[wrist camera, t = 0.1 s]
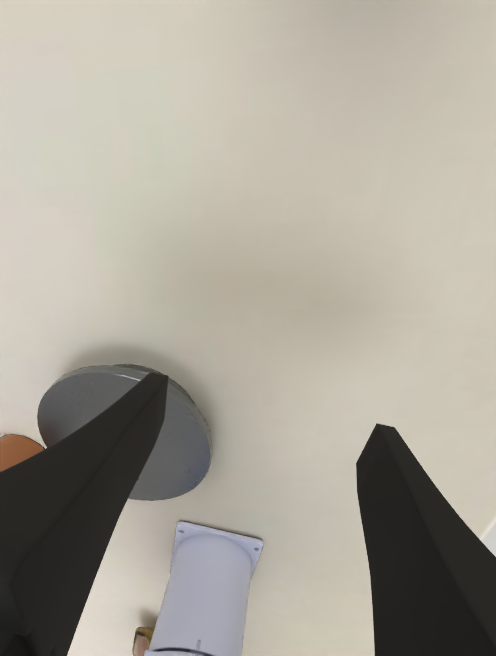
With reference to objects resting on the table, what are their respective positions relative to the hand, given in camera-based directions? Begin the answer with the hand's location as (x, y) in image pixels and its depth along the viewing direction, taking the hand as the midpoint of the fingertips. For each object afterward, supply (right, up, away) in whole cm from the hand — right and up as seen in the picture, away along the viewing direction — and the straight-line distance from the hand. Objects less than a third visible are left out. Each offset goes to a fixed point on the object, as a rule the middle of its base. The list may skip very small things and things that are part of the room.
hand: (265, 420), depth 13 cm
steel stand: (-9, -3, +15) cm, 17 cm away
